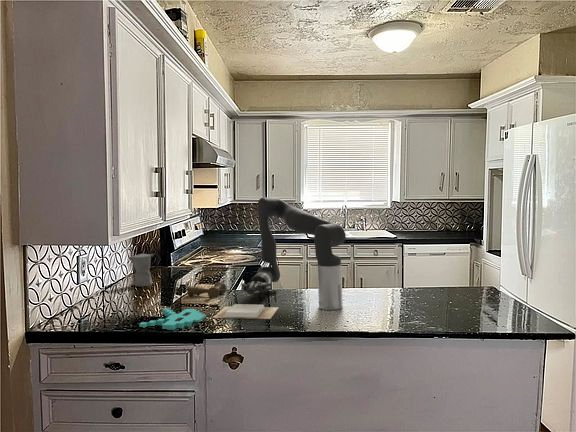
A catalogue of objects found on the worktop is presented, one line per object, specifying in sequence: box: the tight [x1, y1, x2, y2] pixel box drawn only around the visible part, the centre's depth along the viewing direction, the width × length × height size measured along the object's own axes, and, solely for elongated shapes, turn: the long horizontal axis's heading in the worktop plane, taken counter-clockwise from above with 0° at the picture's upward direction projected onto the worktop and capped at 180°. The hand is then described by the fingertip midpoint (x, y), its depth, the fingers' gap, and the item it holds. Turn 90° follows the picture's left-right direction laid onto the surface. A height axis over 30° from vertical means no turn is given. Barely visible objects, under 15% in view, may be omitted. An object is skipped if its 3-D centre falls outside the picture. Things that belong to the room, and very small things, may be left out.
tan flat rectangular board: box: [212, 306, 279, 320], centre depth 176 cm, size 22×15×1 cm
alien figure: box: [138, 307, 207, 331], centre depth 171 cm, size 20×2×20 cm
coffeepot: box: [128, 249, 161, 288], centre depth 236 cm, size 15×9×18 cm, turn 112°
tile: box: [226, 303, 265, 319], centre depth 174 cm, size 12×2×11 cm
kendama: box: [186, 281, 231, 300], centre depth 207 cm, size 6×10×20 cm
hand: (250, 291), depth 181 cm, fingers closed
